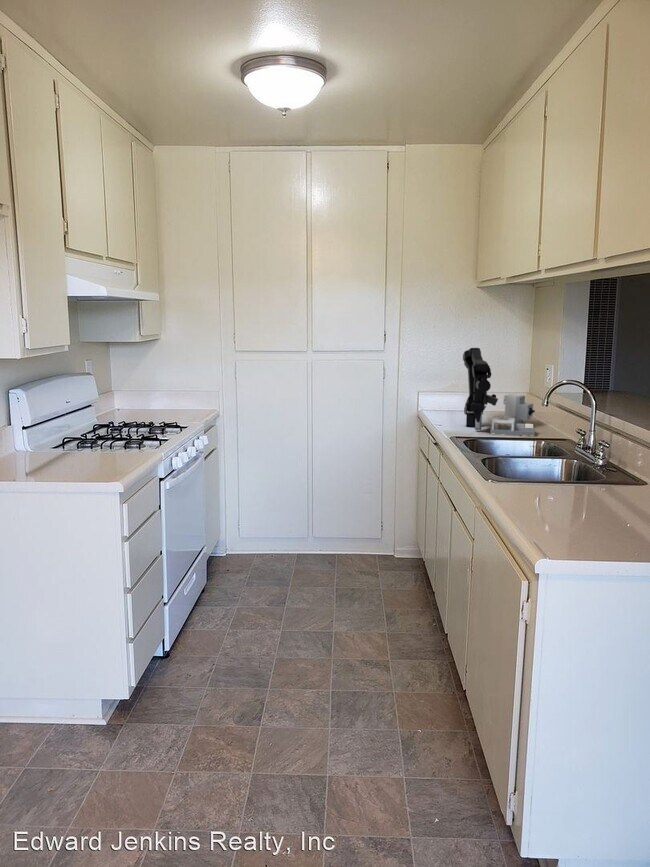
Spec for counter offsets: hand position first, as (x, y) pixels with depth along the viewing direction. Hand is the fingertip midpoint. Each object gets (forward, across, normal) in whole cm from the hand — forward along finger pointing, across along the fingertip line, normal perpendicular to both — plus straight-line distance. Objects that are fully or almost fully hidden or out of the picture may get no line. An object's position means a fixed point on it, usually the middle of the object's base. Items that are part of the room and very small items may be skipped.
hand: (478, 421), depth 313 cm
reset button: (+3, +1, -11) cm, 12 cm away
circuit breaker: (+5, +23, -18) cm, 30 cm away
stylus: (+4, 0, 0) cm, 4 cm away
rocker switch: (+2, +1, -23) cm, 23 cm away
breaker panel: (+5, +1, -16) cm, 17 cm away
